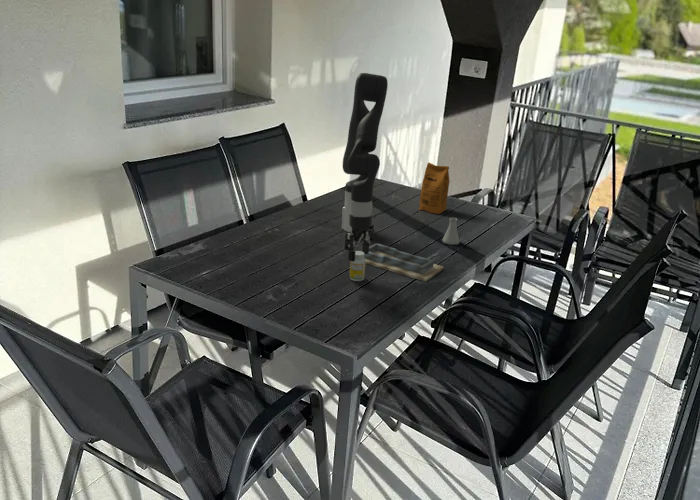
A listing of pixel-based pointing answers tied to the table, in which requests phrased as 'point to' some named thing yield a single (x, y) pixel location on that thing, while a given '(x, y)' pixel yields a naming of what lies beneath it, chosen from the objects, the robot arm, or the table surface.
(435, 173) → the coffee package
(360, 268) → the supplement bottle
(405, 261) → the keyhole guide
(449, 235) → the flask
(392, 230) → the table surface
